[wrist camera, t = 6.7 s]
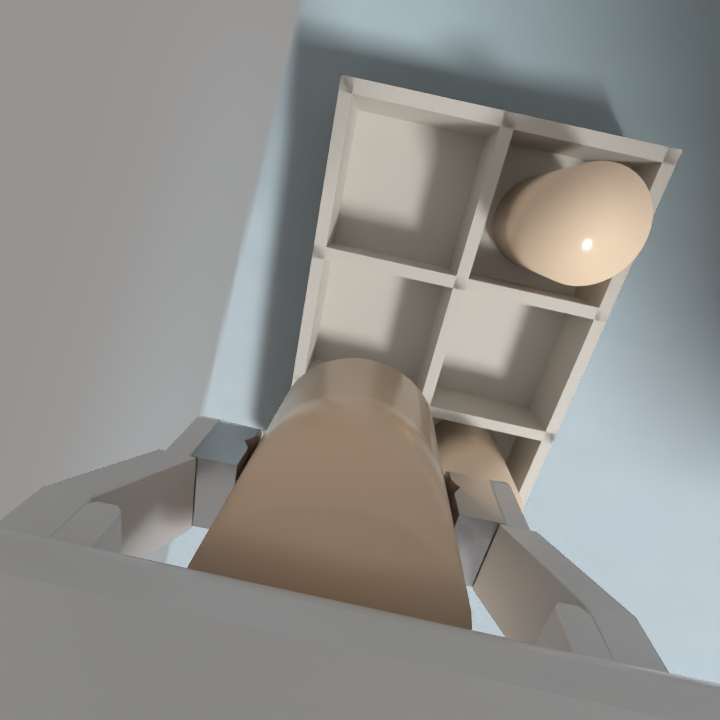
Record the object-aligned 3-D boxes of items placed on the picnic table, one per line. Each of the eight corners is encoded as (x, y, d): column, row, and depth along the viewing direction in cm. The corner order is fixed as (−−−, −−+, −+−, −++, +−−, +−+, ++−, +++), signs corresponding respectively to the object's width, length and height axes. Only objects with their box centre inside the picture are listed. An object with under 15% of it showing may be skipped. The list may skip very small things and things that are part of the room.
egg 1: (452, 377, 11) (513, 544, 6) (411, 507, 13) (427, 738, 7) (291, 342, 11) (189, 472, 6) (270, 476, 13) (176, 683, 7)
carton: (634, 160, 20) (682, 150, 17) (495, 500, 28) (509, 539, 25) (349, 96, 20) (341, 74, 17) (289, 454, 28) (275, 487, 25)
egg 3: (597, 185, 20) (675, 175, 15) (563, 274, 22) (621, 296, 16) (509, 166, 20) (552, 148, 15) (481, 257, 22) (510, 272, 16)
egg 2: (505, 424, 25) (536, 485, 20) (482, 483, 27) (505, 554, 21) (434, 409, 25) (445, 465, 20) (415, 468, 27) (421, 535, 21)
